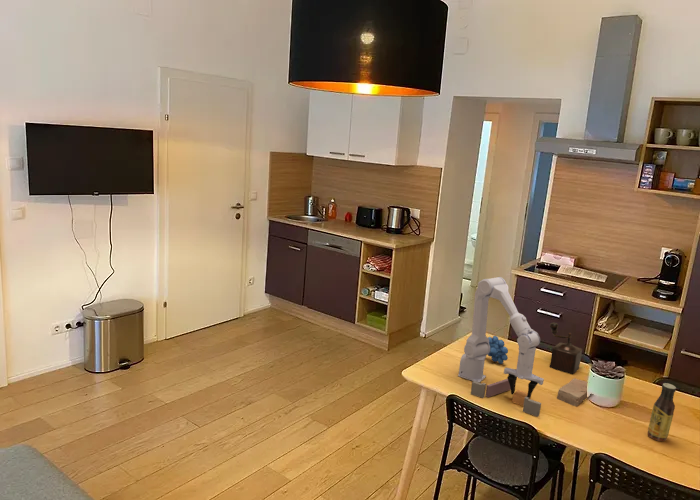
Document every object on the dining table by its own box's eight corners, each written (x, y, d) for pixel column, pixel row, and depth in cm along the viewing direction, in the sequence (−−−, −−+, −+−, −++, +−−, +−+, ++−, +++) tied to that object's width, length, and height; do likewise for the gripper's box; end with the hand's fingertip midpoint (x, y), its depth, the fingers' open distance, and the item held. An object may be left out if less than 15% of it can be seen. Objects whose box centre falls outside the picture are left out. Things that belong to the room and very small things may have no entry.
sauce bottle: (643, 432, 192) (653, 380, 188) (659, 432, 193) (670, 380, 189) (654, 442, 186) (665, 389, 182) (671, 443, 187) (683, 389, 182)
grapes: (478, 359, 245) (481, 334, 243) (486, 356, 250) (489, 331, 247) (501, 369, 237) (504, 343, 235) (509, 365, 242) (512, 339, 239)
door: (487, 397, 210) (489, 386, 209) (483, 394, 211) (484, 384, 210) (510, 389, 218) (512, 379, 217) (506, 387, 219) (507, 377, 218)
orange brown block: (511, 403, 208) (513, 394, 207) (519, 394, 215) (520, 386, 215) (523, 407, 206) (525, 398, 205) (530, 398, 213) (531, 390, 212)
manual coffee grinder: (580, 367, 245) (587, 329, 241) (572, 375, 236) (579, 336, 233) (546, 357, 254) (551, 320, 250) (537, 363, 246) (543, 326, 242)
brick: (576, 407, 208) (578, 396, 207) (555, 399, 213) (557, 388, 212) (593, 395, 220) (595, 384, 219) (572, 387, 225) (574, 376, 224)
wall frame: (470, 394, 212) (472, 380, 211) (472, 392, 213) (473, 379, 212) (538, 416, 198) (540, 403, 197) (539, 415, 199) (541, 401, 198)
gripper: (503, 360, 206) (498, 393, 209) (541, 372, 198) (536, 406, 201) (509, 355, 212) (504, 387, 214) (547, 366, 204) (541, 399, 207)
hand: (520, 396), depth 208 cm, fingers open, 5 cm apart
